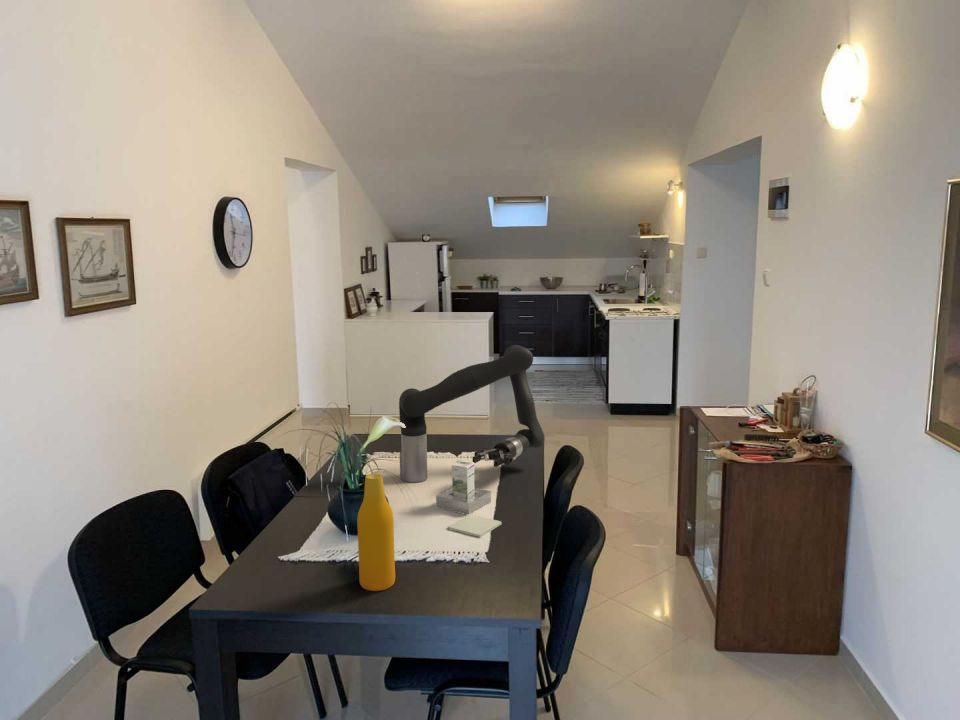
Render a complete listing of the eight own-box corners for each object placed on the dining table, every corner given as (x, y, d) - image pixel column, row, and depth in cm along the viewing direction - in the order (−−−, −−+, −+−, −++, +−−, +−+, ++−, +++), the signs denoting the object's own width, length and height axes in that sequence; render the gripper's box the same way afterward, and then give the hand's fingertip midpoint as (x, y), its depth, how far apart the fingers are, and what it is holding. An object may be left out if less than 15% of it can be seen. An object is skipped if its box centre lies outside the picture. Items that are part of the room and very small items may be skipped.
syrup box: (475, 503, 244) (474, 461, 242) (467, 509, 239) (467, 466, 237) (460, 500, 247) (459, 459, 244) (452, 506, 242) (451, 464, 239)
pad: (447, 528, 224) (447, 526, 223) (469, 516, 233) (469, 513, 233) (480, 537, 217) (480, 535, 217) (501, 524, 227) (501, 521, 227)
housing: (436, 507, 241) (436, 495, 240) (458, 495, 252) (458, 484, 251) (469, 515, 234) (468, 503, 233) (490, 502, 245) (490, 491, 244)
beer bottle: (356, 592, 185) (352, 482, 180) (362, 575, 194) (358, 470, 189) (393, 591, 185) (390, 482, 180) (397, 574, 194) (394, 470, 189)
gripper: (491, 437, 267) (466, 448, 254) (525, 442, 260) (501, 454, 246) (491, 456, 269) (467, 469, 255) (525, 462, 261) (501, 476, 248)
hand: (483, 462), depth 251 cm, fingers open, 8 cm apart
